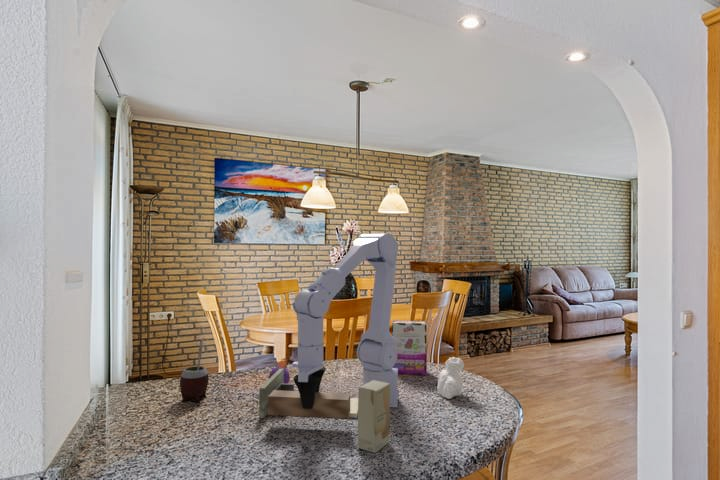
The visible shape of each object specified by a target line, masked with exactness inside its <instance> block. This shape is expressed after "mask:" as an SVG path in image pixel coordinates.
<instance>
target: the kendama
mask: <svg viewBox="0 0 720 480" xmlns="http://www.w3.org/2000/svg"><path fill="white" fill-rule="evenodd" d="M287 368H288V364H287V362H286V361H284V360H280V361H278V362H277V364H276V367H274V368H273V369H272V370H271V371H270V373H269V374H268V379H269V378H270V377H271V376H272V375H274V374H275V373H276V372H277V371H278V370H279V369H284V383H287V384H289V382H290V380H291V379H290V372H289V371H288V369H287Z"/></svg>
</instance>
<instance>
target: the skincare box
mask: <svg viewBox="0 0 720 480" xmlns="http://www.w3.org/2000/svg"><path fill="white" fill-rule="evenodd" d="M357 396H358V397H357V398H358V415H357V448H358V449H361V450H363V451H366V452H370V453H378V451H380V450H381V449H383V448H384V447H385V446H387V444H389V443H390V425H391V424H390V423H391V422H390V413H391V411H390V408H391V407H390V383H385V382H380V381H376V380H372V381H371V382H369V383H366V384H364V385H363V384H362V385H361V386H358V395H357Z"/></svg>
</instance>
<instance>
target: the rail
mask: <svg viewBox="0 0 720 480" xmlns="http://www.w3.org/2000/svg"><path fill="white" fill-rule="evenodd" d="M350 398H351V393H345V392H344V393H342V392H327V391H326V392H322V391H319V392H315V399H314V405H313V408H312V409H303V407H302V403H301V398H300V393H299V390H294V391H282V390H273V391H272V392H271V394H270V395H269V396H268V414H267V415H270V416H271V415H273V416H293V417H309V418H310V417H311V418H312V417H315V418H317V417H318V418H332V419H333V418H334V419H349V418H350V417H349V414H350Z"/></svg>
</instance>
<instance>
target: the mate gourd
mask: <svg viewBox="0 0 720 480" xmlns="http://www.w3.org/2000/svg"><path fill="white" fill-rule="evenodd" d="M204 339H205V337H202V339H201V340H200V341H201V342H200V345H199V347H198V360H197V365H195V366H190V367H186V368H184V369H183V371H182V372H181V374H180V378H179V386H180V395H181V398H182V399H181V403H188V402H191V401H193V402H194V403H196V404H199V403H201V400H200V399H205V398H207V394H206V393H207V390H208V385H209V379H210V377H209V372H208V370H207V368H206V367H204V366H200V364H201V356H202V351H203V344H204Z"/></svg>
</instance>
